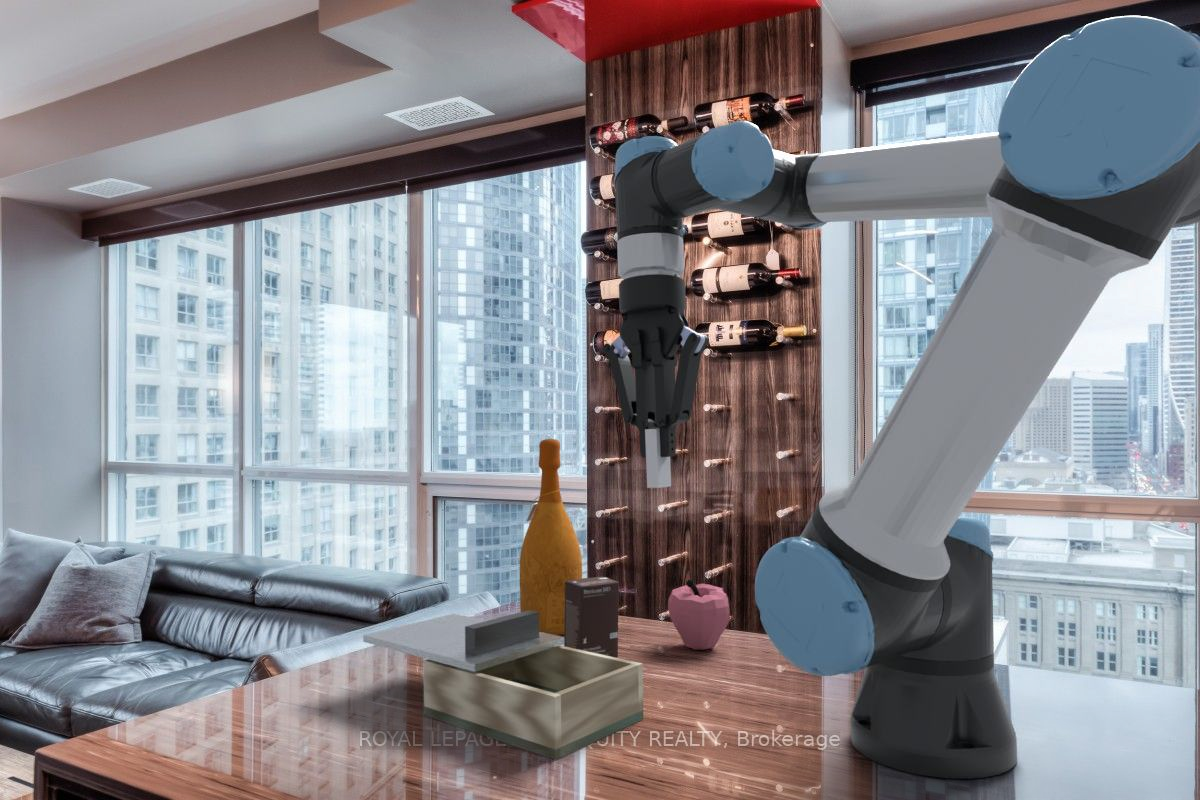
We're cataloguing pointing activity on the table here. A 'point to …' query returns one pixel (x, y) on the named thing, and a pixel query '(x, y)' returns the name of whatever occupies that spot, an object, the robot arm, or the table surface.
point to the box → (592, 615)
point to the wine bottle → (548, 548)
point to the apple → (699, 614)
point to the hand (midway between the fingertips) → (659, 486)
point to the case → (539, 699)
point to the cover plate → (453, 643)
